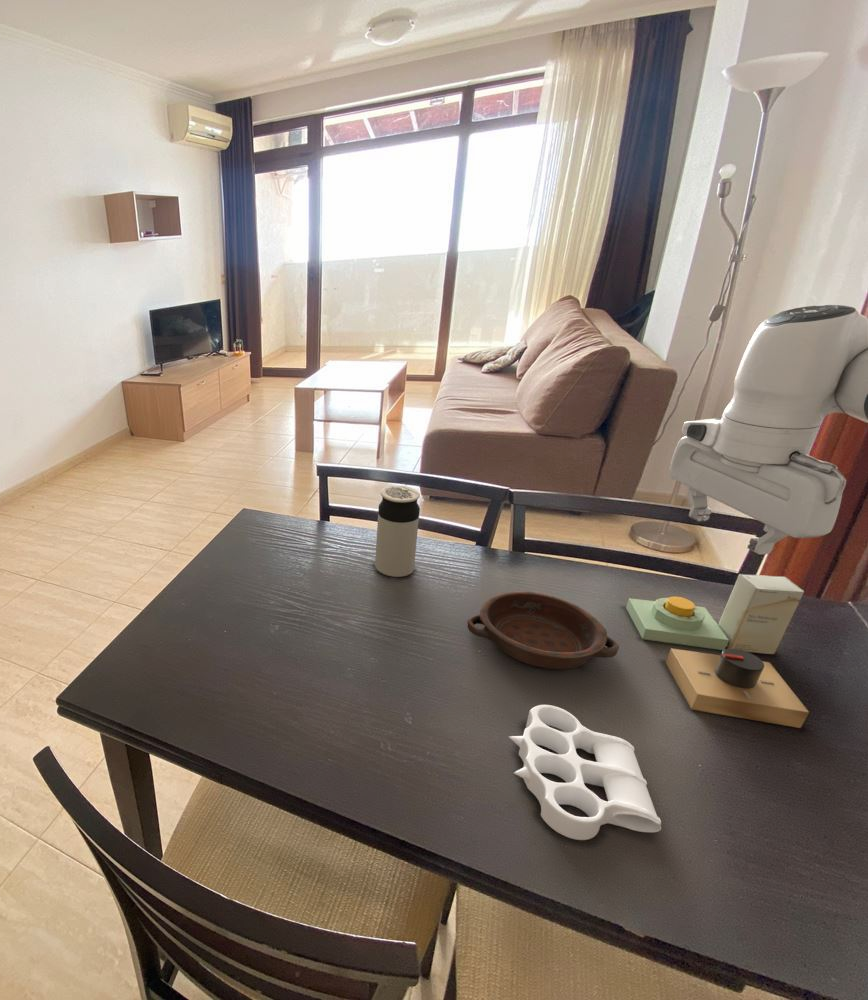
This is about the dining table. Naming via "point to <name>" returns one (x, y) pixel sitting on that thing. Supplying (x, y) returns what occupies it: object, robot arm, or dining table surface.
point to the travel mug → (397, 531)
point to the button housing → (675, 625)
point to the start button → (680, 606)
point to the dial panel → (735, 691)
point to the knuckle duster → (583, 776)
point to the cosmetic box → (759, 612)
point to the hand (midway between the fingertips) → (726, 534)
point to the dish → (542, 630)
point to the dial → (739, 668)
